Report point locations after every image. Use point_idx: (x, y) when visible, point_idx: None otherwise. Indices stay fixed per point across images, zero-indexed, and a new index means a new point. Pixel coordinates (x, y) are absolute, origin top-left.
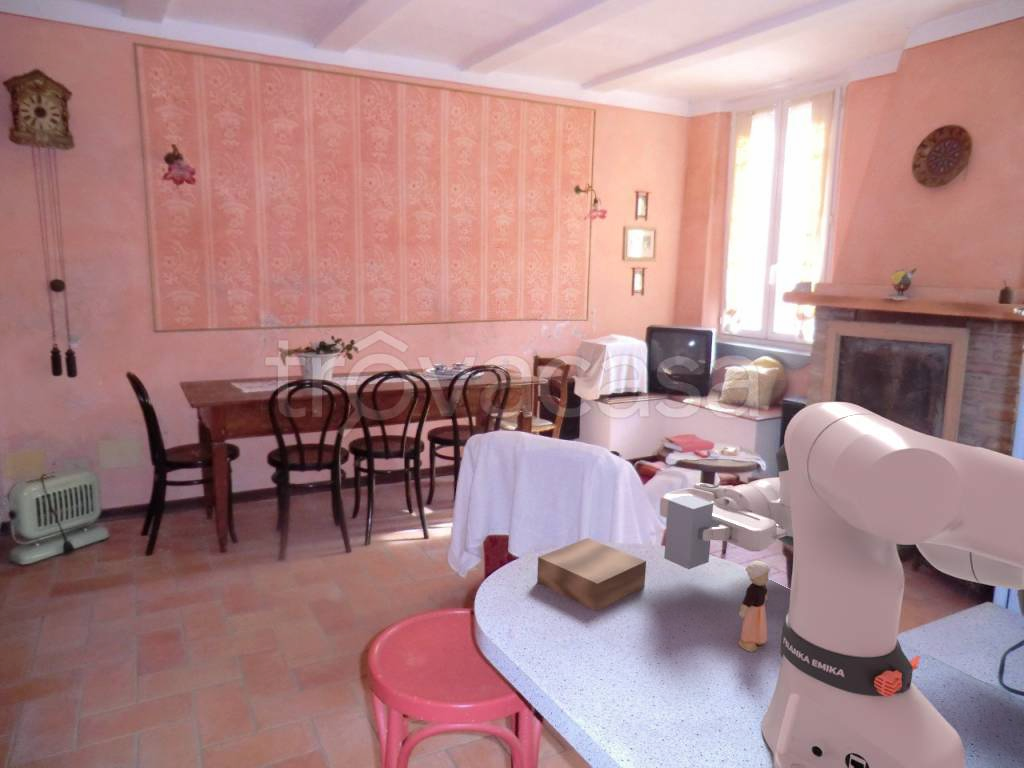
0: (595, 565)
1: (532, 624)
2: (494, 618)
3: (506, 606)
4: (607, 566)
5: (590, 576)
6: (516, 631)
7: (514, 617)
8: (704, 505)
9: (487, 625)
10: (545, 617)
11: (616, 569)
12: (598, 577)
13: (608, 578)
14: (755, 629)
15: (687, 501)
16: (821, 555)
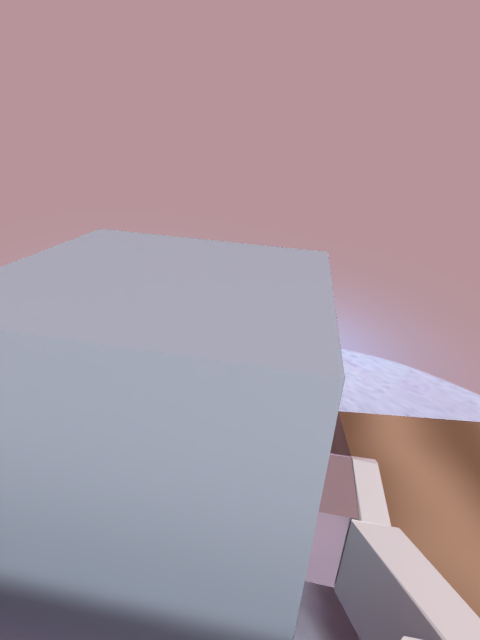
0: (450, 481)
1: (350, 384)
2: (396, 370)
3: (429, 396)
4: (426, 499)
5: (382, 425)
6: (344, 366)
7: (385, 383)
8: (16, 261)
9: (381, 358)
10: (359, 405)
11: (391, 501)
12: (367, 433)
13: (347, 442)
14: None
15: (197, 267)
16: None
